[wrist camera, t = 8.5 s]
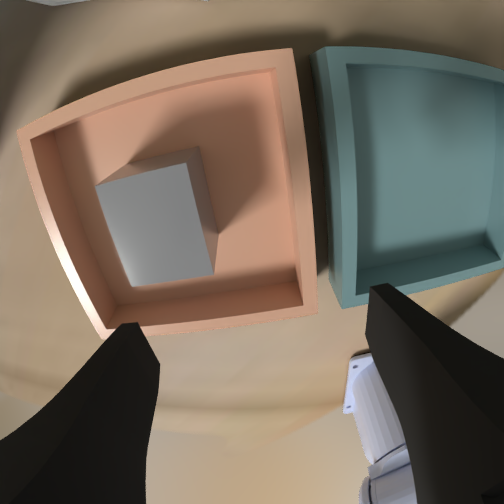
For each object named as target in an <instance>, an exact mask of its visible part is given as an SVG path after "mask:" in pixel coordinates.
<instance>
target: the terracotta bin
mask: <svg viewBox="0 0 504 504" xmlns="http://www.w3.org/2000/svg"><path fill="white" fill-rule="evenodd" d="M17 136H18V140H19V144H20V148H21V152H22V156H23V159H24V163H25V167H26V170H27V173H28V177H29V180H30V183H31V186H32V189H33V193H34V196H35V198H36V201H37V204H38V207H39V210H40V213H41V215H42V218H43V221H44V223H45V226H46V228H47V231H48V233H49V236H50V238H51V241H52V243H53V245H54V248H55V250H56V252H57V255H58V257H59V259H60V261H61V263H62V266H63V268H64V270H65V272H66V274H67V276H68V278H69V280H70V282H71V284H72V286H73V288H74V290H75V292H76V294H77V296H78V298H79V300H80V302H81V304H82V306H83V308H84V309H85V311H86V313H87V315H88V317H89V318H90V320H91V322H92V324H93V325H94V327H95V329H96V331H97V332H98V334H99V336H100V337H101V339H107V338H108V337H109V336H110V335H111V334H112V333H113V332H114V331H115V330H116V329H117V328H118V327H119V326H120V325H121V324H122V323H132V322H138V323H139V325H140V327H141V329H142V331H143V333H144V335H145V336H155V335H167V334H177V333H187V332H196V331H205V330H214V329H222V328H230V327H237V326H244V325H252V324H258V323H265V322H272V321H278V320H284V319H290V318H296V317H302V316H308V315H313V314H318V295H317V272H316V253H315V237H314V223H313V210H312V198H311V187H310V177H309V167H308V157H307V148H306V140H305V131H304V123H303V116H302V108H301V101H300V94H299V87H298V81H297V74H296V68H295V62H294V56H293V50H292V48H286V49H275V50H265V51H257V52H249V53H242V54H236V55H230V56H224V57H218V58H213V59H208V60H203V61H198V62H194V63H189V64H185V65H181V66H177V67H173V68H169V69H165V70H162V71H158V72H155V73H151V74H148V75H144V76H141V77H138V78H135V79H132V80H129V81H126V82H123V83H120V84H117V85H114V86H112V87H109V88H106V89H104V90H101V91H98V92H96V93H93V94H91V95H88V96H86V97H84V98H81V99H79V100H77V101H74V102H72V103H70V104H67V105H65V106H63V107H61V108H59V109H57V110H55V111H53V112H51V113H49V114H46V115H45V116H43V117H41V118H39V119H37V120H35V121H33V122H31V123H29V124H27V125H26V126H24V127H22V128H20V129H18V130H17ZM196 146H199V147H200V152H201V157H202V162H203V166H204V171H205V175H206V180H207V185H208V189H209V194H210V198H211V203H212V207H213V211H214V216H215V220H216V225H217V229H218V233H219V237H218V246H217V254H216V263H215V271H214V275H209V276H203V277H196V278H190V279H183V280H176V281H170V282H163V283H156V284H149V285H142V286H135V287H132V286H131V283H130V281H129V279H128V276H127V274H126V271H125V269H124V266H123V264H122V262H121V259H120V257H119V254H118V251H117V249H116V246H115V244H114V241H113V238H112V236H111V233H110V230H109V227H108V225H107V222H106V219H105V216H104V213H103V210H102V207H101V204H100V201H99V198H98V195H97V192H96V189H95V186H96V185H97V184H98V183H100V182H101V181H103V180H104V179H105V178H107V177H108V176H110V175H111V174H112V173H114V172H115V171H117V170H118V169H119V168H121V167H122V166H124V165H125V164H127V163H131V162H134V161H138V160H142V159H146V158H149V157H153V156H157V155H161V154H165V153H170V152H174V151H178V150H183V149H187V148H192V147H196Z"/></svg>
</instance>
